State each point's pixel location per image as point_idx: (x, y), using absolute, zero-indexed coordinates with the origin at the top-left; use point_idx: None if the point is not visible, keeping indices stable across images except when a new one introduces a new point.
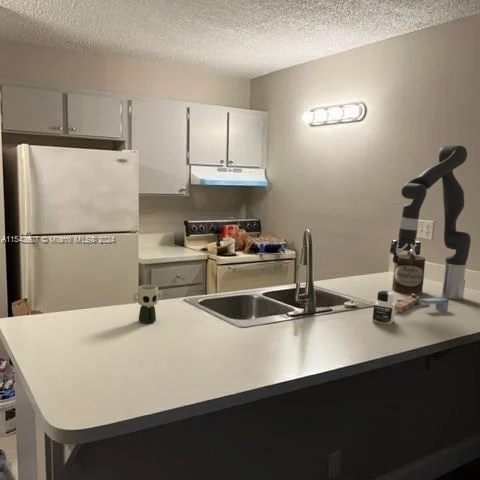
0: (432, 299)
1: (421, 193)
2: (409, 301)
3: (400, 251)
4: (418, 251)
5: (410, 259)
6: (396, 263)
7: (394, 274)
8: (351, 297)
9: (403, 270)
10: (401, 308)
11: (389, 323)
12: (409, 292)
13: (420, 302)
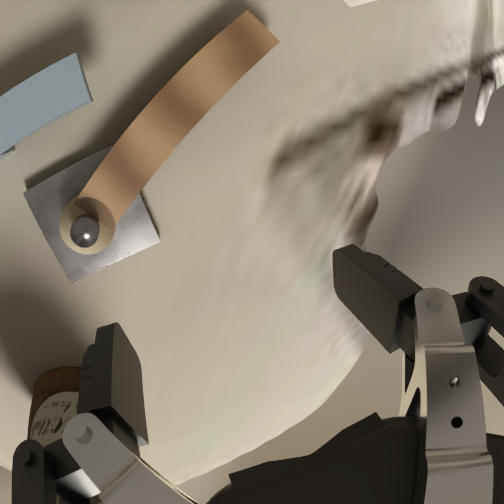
0: (26, 107)
1: None
2: (147, 122)
3: (437, 347)
4: (34, 493)
5: (135, 391)
6: (343, 247)
7: (138, 448)
8: (331, 261)
9: None
10: (247, 13)
11: None
12: (77, 372)
13: (57, 219)
